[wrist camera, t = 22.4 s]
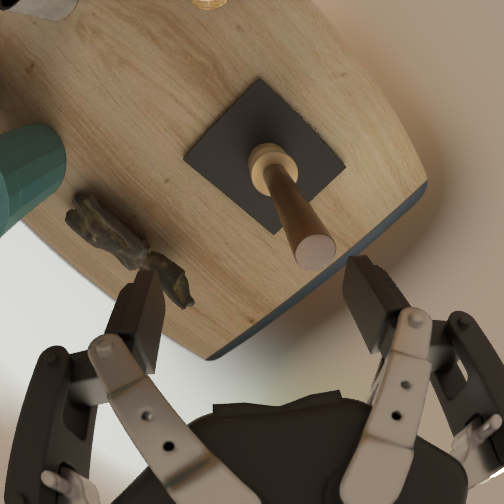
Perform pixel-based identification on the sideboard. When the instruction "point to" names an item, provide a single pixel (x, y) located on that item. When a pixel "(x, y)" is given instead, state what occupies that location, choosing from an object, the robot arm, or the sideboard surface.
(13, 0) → the grey hollow cylinder
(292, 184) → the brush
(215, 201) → the sideboard surface
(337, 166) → the mat
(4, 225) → the jar
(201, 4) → the spice bottle
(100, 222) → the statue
